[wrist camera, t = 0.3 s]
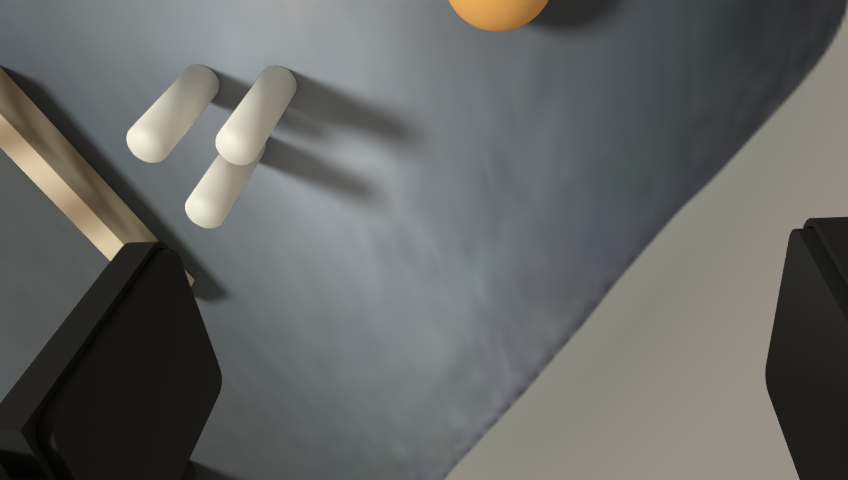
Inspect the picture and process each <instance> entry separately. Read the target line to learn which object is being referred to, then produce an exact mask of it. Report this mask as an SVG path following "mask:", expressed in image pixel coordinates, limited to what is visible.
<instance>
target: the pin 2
mask: <svg viewBox="0 0 848 480" xmlns="http://www.w3.org/2000/svg"><path fill="white" fill-rule="evenodd" d="M265 150H266V142H265V144H264V146H263V147H262V149H261V151H260V152H259V154H258V156H257V157H256V159H255V160H254V161H253V162H252V163H250V164H247V165H235V164H232V163H230V162H228V161H227V160H225V159H224V158H223V157H222V156H221V155H220V153H219V155H218V156H217V158H216V159H215V160H214V162H213V163H212V165H211V166H210V168H209V169H208V171H207V172H206V173H205V175H204V176H203V178H202V179H201V181H200V182H199V184H198V185H197V186H196V188H195V189H194V191H193V192H192V194H191V195H190V197H189V198H188V199H187V201H186V204H185V210H186V213H187V215H188V217H189V218H190V219H191V220H192V221H193V222H194V223H195V224H197V225H199V226H201V227H204V228H215V227H218V226H220V225H221V224H222V223H223V222H224V220H225V218H226V217H227V215H228V213H229V211H230V210H231V208H232V206H233V205H234V203H235V201H236V200H237V198H238V196H239V195H240V193H241V191H242V190H243V188H244V186H245V184H246V183H247V181H248V179H249V178H250V176H251V174H252V173H253V171H254V169H255V168H256V166H257V164H258V162H259V161H260V159H261V157H262V156H263V154H264V152H265Z"/></svg>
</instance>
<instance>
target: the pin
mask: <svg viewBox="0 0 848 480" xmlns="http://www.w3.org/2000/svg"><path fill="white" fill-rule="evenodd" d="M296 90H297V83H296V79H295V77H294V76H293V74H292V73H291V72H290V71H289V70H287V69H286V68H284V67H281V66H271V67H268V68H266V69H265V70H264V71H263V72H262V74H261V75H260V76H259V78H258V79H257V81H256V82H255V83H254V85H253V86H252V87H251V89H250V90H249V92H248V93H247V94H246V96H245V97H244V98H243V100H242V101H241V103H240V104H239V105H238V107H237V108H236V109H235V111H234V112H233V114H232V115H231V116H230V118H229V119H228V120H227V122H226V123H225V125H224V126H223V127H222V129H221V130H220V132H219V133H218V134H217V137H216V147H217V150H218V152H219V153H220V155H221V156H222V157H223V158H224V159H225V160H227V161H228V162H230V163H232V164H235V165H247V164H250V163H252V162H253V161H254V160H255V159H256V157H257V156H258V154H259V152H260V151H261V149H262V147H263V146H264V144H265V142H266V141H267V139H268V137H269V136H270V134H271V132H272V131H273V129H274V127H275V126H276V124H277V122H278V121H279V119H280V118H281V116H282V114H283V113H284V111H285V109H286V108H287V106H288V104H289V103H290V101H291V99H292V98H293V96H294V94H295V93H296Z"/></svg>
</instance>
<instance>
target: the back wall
mask: <svg viewBox="0 0 848 480" xmlns="http://www.w3.org/2000/svg"><path fill="white" fill-rule="evenodd" d="M0 147H1V148H2V149H3V150H4V151H5V153H6V154H7V155H8V156H9V157H10V158H11V159H12V160H13V161H14V162H15V163H16V164H17V165H18V166H19V167H20V168H21V169H22V170H23V171H24V172H25V173H26V174H27V175H28V176H29V177H30V178H31V179H32V180H33V182H34V183H35V184H36V185H37V186H38V187H39V188H40V189H41V190H42V191H43V192H44V193H45V194H46V195H47V196H48V197H49V198H50V199H51V200H52V201H53V202H54V203H55V204H56V205H57V206H58V207H59V208H60V209H61V211H62V212H63V213H64V214H65V215H66V216H67V217H68V218H69V219H70V220H71V221H72V222H73V223H74V224H75V225H76V226H77V227H78V228H79V229H80V230H81V231H82V232H83V233H84V234H85V235H86V236H87V237H88V238H89V239H90V241H91V242H92V243H93V244H94V245H95V246H96V247H97V248H98V249H99V250H100V251H101V252H102V253H103V254H104V255H105V256H106V257H107V258H108V259H109V260H110V261H111V260H112V259H113V258H114V256H115V255H116V254H117V253H118V251H119V250H120V249H121V247H122V246H123V245H125V244H126V243H130V242H156V241H159V240H158V239H157V238H156V237H155V236H154V235H153V234H152V233H151V231H150V230H149V229H148V228H147V227H146V226H145V225H144V224H143V223H142V222H141V220H140V219H139V218H138V217H137V216H136V215H135V214H134V213H133V212H132V211H131V210H130V208H129V207H128V206H127V205H126V204H125V203H124V202H123V201H122V200H121V199H120V197H119V196H118V195H117V194H116V193H115V192H114V191H113V190H112V189H111V188H110V186H109V185H108V184H107V183H106V182H105V181H104V180H103V179H102V178H101V177H100V175H99V174H98V173H97V172H96V171H95V170H94V169H93V168H92V167H91V166H90V164H89V163H88V162H87V161H86V160H85V159H84V158H83V157H82V156H81V155H80V153H79V152H78V151H77V150H76V149H75V148H74V147H73V146H72V145H71V144H70V143H69V141H68V140H67V139H66V138H65V137H64V136H63V135H62V134H61V133H60V132H59V130H58V129H57V128H56V127H55V126H54V125H53V124H52V123H51V122H50V121H49V119H48V118H47V117H46V116H45V115H44V114H43V113H42V112H41V111H40V110H39V108H38V107H37V106H36V105H35V104H34V103H33V102H32V101H31V100H30V99H29V97H28V96H27V95H26V94H25V93H24V92H23V91H22V90H21V89H20V88H19V86H18V85H17V84H16V83H15V82H14V81H13V80H12V79H11V78H10V77H9V76H8V74H7V73H6V72H5V71H4V70H3V69H2V68H1V67H0ZM185 272H186V275H187V278H188V281H189V283H190V286H192V284H193V283H194V281H195V280H194V279H193V278H192V277H191V275H190V274H189V273H188V272H187V271H186V270H185Z"/></svg>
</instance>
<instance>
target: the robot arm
mask: <svg viewBox="0 0 848 480" xmlns="http://www.w3.org/2000/svg"><path fill="white" fill-rule="evenodd" d="M765 374H766V375H765V376H766V385H767V390H768V393H769V396H770V399H771V402H772V404H773V407H774V410H775V413H776V415H777V418H778V421H779V424H780V426H781V429H782V432H783V435H784V437H785V440H786V443H787V446H788V448H789V451H790V454H791V456H792V459H793V462H794V465H795V468H796V470H797V473H798V476H799V479H800V480H848V217H832V218H809V219H808V220H807V221H806V223H805V224H804V227H803V229H793V230H792V232H791V234H790V237H789V242H788V247H787V253H786V259H785V264H784V269H783V275H782V281H781V286H780V291H779V297H778V303H777V308H776V313H775V319H774V324H773V330H772V335H771V341H770V346H769V352H768V358H767V363H766V373H765ZM221 385H222V375H221V370H220V367H219V364H218V361H217V359H216V356H215V353H214V350H213V347H212V345H211V342H210V339H209V336H208V334H207V331H206V328H205V325H204V322H203V320H202V317H201V314H200V311H199V308H198V306H197V303H196V300H195V297H194V294H193V292H192V289H191V286H190V283H189V281H188V278H187V275H186V272H185V269H184V267H183V264H182V261H181V258H180V256H179V254H178V253H177V252H176V251H175V250H170V249H169V247H168V246H167V245H166V244H165V243H164V242H161V241H156V242H130V243H126V244H125V245H123V246H122V247H121V249H120V250H119V251H118V253H117V254H116V255H115V256H114V258H113V259H112V260H111V262H110V263H109V264H108V265H107V267H106V268H105V269H104V271H103V272H102V273H101V274H100V276H99V277H98V278H97V280H96V281H95V282H94V283H93V285H92V286H91V287H90V289H89V290H88V291H87V292H86V294H85V295H84V296H83V298H82V299H81V300H80V301H79V303H78V304H77V305H76V307H75V308H74V309H73V311H72V312H71V313H70V314H69V316H68V317H67V318H66V320H65V321H64V322H63V323H62V325H61V326H60V327H59V329H58V330H57V331H56V332H55V334H54V335H53V336H52V338H51V339H50V340H49V341H48V343H47V344H46V345H45V347H44V348H43V349H42V350H41V352H40V353H39V354H38V356H37V357H36V358H35V359H34V361H33V362H32V363H31V365H30V366H29V367H28V369H27V370H26V371H25V372H24V374H23V375H22V376H21V378H20V379H19V380H18V381H17V383H16V384H15V385H14V387H13V388H12V389H11V390H10V392H9V393H8V394H7V396H6V397H5V398H4V399H3V401H2V402H1V403H0V480H180V478H181V476H182V474H183V472H184V469H185V467H186V465H187V463H188V461H189V459H190V456H191V454H192V452H193V450H194V448H195V445H196V443H197V441H198V439H199V437H200V435H201V432H202V430H203V428H204V426H205V424H206V422H207V419H208V417H209V415H210V413H211V411H212V408H213V406H214V404H215V402H216V400H217V398H218V395H219V393H220V390H221Z"/></svg>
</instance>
